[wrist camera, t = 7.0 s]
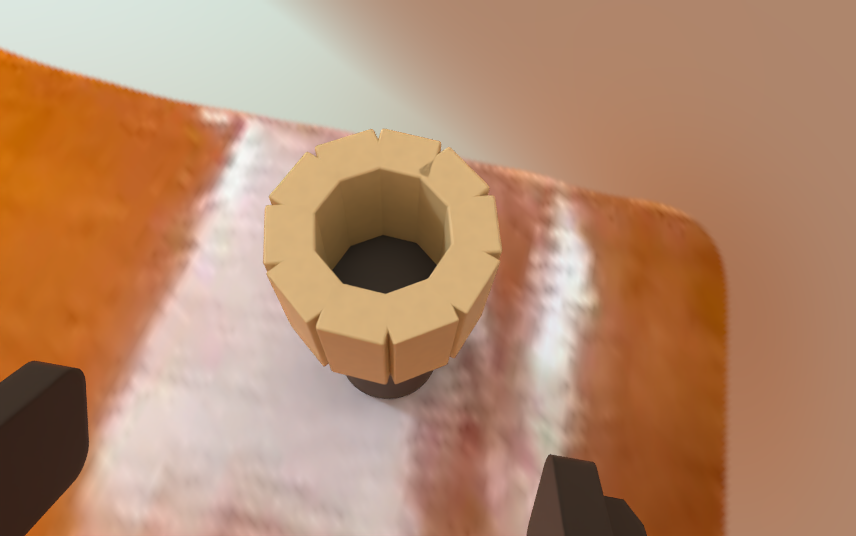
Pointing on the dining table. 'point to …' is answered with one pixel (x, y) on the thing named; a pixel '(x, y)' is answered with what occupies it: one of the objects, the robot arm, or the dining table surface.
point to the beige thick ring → (371, 217)
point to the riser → (385, 290)
